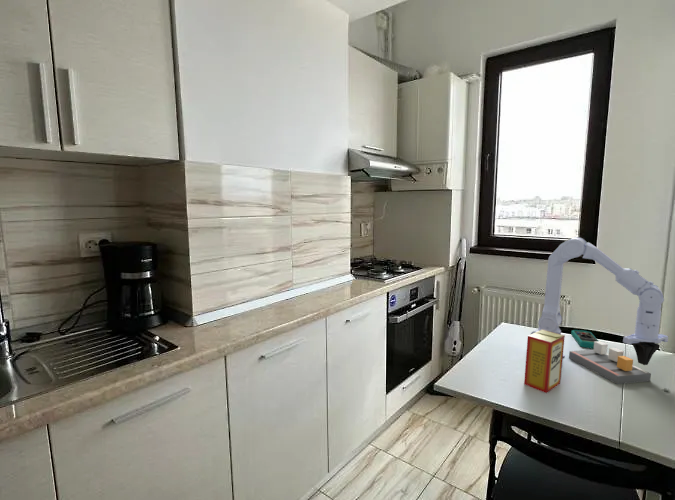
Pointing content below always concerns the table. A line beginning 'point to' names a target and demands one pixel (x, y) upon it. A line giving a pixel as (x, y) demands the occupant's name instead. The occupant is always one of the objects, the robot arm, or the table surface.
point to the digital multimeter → (584, 338)
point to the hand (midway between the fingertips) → (642, 363)
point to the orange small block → (624, 363)
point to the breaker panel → (608, 364)
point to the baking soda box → (544, 360)
